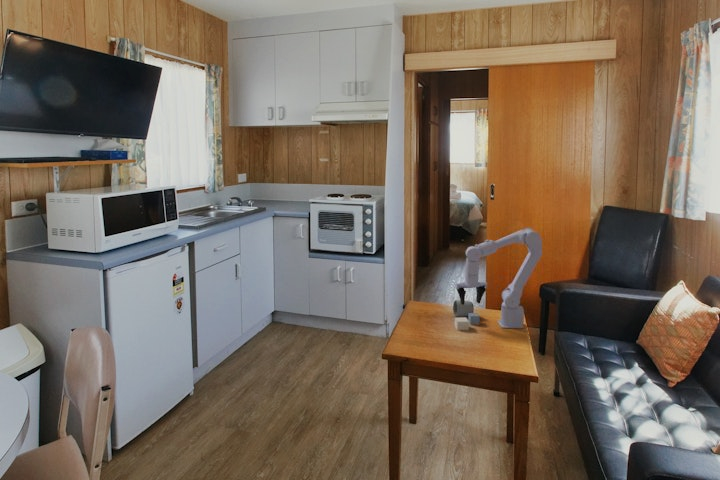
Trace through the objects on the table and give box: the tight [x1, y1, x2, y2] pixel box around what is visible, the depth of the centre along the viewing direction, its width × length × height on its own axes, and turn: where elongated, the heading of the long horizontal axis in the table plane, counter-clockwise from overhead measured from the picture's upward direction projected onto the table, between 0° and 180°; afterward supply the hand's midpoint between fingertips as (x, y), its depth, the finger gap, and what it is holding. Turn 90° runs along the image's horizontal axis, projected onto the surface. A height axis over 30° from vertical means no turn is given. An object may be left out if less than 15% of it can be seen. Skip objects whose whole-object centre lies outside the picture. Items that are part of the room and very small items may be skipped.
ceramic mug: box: [452, 299, 475, 318], centre depth 239 cm, size 11×8×8 cm
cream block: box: [453, 317, 470, 331], centre depth 223 cm, size 5×5×4 cm
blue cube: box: [467, 312, 481, 326], centre depth 229 cm, size 4×4×4 cm
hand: (470, 303), depth 227 cm, fingers open, 7 cm apart
